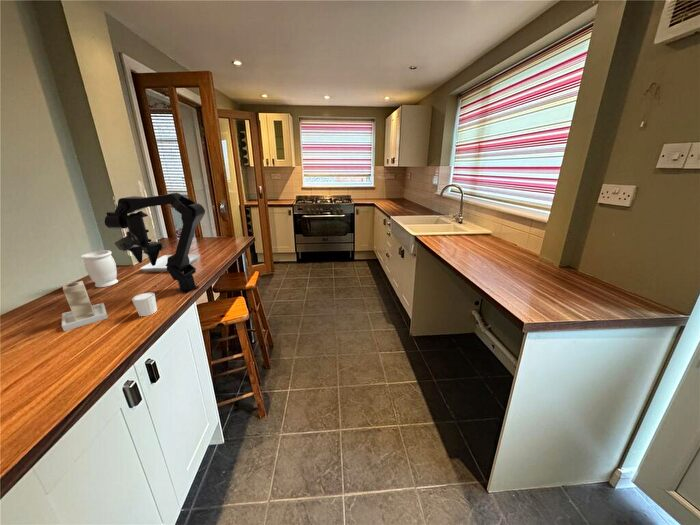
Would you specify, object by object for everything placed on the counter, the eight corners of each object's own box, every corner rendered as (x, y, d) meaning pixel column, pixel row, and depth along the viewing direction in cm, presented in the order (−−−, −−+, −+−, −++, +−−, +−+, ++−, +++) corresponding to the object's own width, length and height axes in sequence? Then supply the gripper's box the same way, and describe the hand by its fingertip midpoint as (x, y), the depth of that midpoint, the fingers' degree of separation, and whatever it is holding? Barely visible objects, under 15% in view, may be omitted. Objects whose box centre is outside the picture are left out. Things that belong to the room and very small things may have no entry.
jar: (87, 286, 128) (75, 255, 123) (112, 278, 137) (102, 249, 132) (101, 290, 124) (89, 258, 119) (126, 281, 133) (116, 251, 128)
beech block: (94, 311, 105) (82, 280, 100) (94, 316, 101) (82, 284, 97) (75, 316, 101) (63, 284, 97) (76, 321, 98) (62, 288, 94)
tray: (104, 307, 109) (103, 302, 109) (108, 318, 101) (106, 313, 101) (63, 318, 102) (61, 313, 101) (64, 331, 94) (61, 326, 93)
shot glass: (148, 318, 101) (142, 301, 98) (132, 317, 102) (126, 299, 100) (163, 309, 107) (159, 292, 105) (148, 307, 108) (143, 291, 106)
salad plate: (181, 273, 142) (179, 267, 141) (139, 274, 142) (137, 268, 141) (202, 259, 162) (201, 254, 161) (166, 260, 162) (164, 254, 161)
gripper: (101, 230, 111) (113, 267, 117) (128, 235, 104) (140, 273, 109) (131, 225, 121) (141, 259, 126) (158, 228, 113) (168, 264, 119)
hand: (147, 264), depth 120 cm, fingers open, 9 cm apart
